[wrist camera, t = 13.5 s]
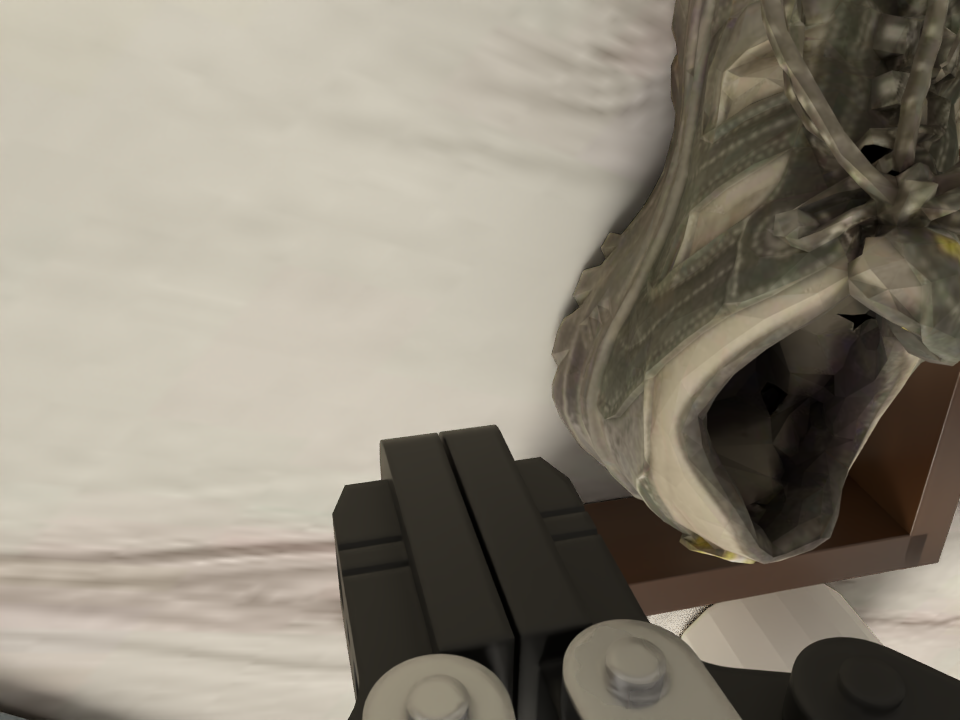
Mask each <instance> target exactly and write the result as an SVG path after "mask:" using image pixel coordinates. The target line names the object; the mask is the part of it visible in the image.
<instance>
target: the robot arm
mask: <svg viewBox="0 0 960 720" xmlns="http://www.w3.org/2000/svg"><path fill="white" fill-rule="evenodd" d="M380 466H381V480H379V481H372V482H365V483H358V484H351V485H345V487H344V489H343V491H342V493H341V496H340V498H339V500H338V503H337V505H336V507H335V509H334V512H333V514H332V516H333V526H334V537H335V547H336V558H337V569H338V579H339V590H340V600H341V609H342V615H343V622H344V628H345V634H346V640H347V647H348V654H349V660H350V665H351V673H352V680H353V686H354V692H355V699H356V703H355V706H354V709H353V711H352V713H351V715H350V717H349V719H348V720H960V681H959V680H957V679H955V678H953V677H951V676H949V675H946V674H944V673H942V672H940V671H938V670H936V669H933V668H931V667H929V666H927V665H925V664H923V663H921V662H918V661H916V660H914V659H912V658H910V657H908V656H905V655H903V654H901V653H899V652H897V651H895V650H892V649H890V648H888V647H885V646H883V645H880V644H878V643H875V642H871V641H868V640H864V639H858V638H852V637H833V638H826V639H822V640H818V641H816V642H814V643H812V644H810V645H808V646H807V647H806V648H804V649H803V650H802V651H801V652H800V654H799V655H798V656H797V657H796V660H795V662H794V665H793V668H792V672H791V673H789V672H777V671H765V670H753V669H742V668H731V667H724V666H719V665H715V664H711V663H707V662H704V661H702V660H700V659H699V657H698V656H697V654H696V653H695V652H694V651H693V650H692V648H691V647H690V646H689V645H688V644H687V643H685V642H684V641H683V640H682V639H681V638H679V637H678V636H676V635H675V634H673V633H672V632H670V631H668V630H666V629H664V628H662V627H660V626H657V625H654V624H651V623H650V622H649V620H648V619H647V617H646V615H645V614H644V612H643V610H642V608H641V606H640V605H639V603H638V601H637V599H636V597H635V596H634V594H633V592H632V590H631V589H630V587H629V585H628V583H627V581H626V580H625V578H624V576H623V574H622V572H621V571H620V569H619V567H618V565H617V563H616V562H615V560H614V558H613V556H612V554H611V553H610V551H609V549H608V547H607V546H606V544H605V542H604V540H603V538H602V537H601V535H600V534H598V533H597V528H596V526H595V524H594V522H593V520H592V519H591V517H590V515H589V513H588V512H587V511H586V512H585V509H584V504H583V503H582V501H581V499H580V497H579V495H578V494H577V492H576V490H575V488H574V486H573V485H572V483H571V481H570V479H569V478H568V477H566V476H565V475H564V474H562V473H561V472H560V471H558V470H557V469H556V468H554V467H553V466H552V465H550V464H549V463H548V462H546V461H545V460H544V459H542V458H541V457H537V458H530V459H523V460H516V461H514V459H513V456H512V454H511V452H510V450H509V448H508V446H507V444H506V442H505V440H504V438H503V436H502V434H501V432H500V430H499V428H498V427H497V426H496V425H489V426H481V427H474V428H466V429H459V430H451V431H444V432H440V433H439V435H438V434H437V433H430V434H423V435H415V436H408V437H400V438H393V439H385V440H381V441H380Z"/></svg>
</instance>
